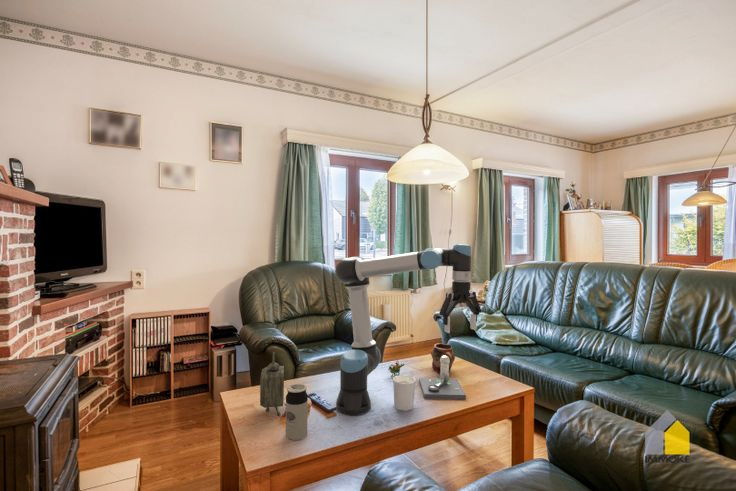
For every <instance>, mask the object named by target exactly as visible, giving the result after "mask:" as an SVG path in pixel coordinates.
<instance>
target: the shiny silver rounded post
mask: <svg viewBox="0 0 736 491" xmlns="http://www.w3.org/2000/svg"><path fill="white" fill-rule="evenodd" d="M440 362H441V373H439V374H440V378H439V379H440V381H441V382H440V383H438V384H436V385H429V386H428V389H429V390H430V391H439V387H440V386H441V385H443V384H445V383H447V382H449V379H450V377H449V376H450V371H449V362H450V359H449V357H448V356H445V355H444V356H442V357H441V358H440Z"/></svg>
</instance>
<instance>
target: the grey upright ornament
mask: <svg viewBox="0 0 736 491" xmlns="http://www.w3.org/2000/svg"><path fill="white" fill-rule="evenodd" d="M259 381H260V382H259V383H260V384H259V397H260V398H259V401H260V404H259V406H260V407H263V408H264V409H265V411H266V412H267V413H268V412H270V408H274V409H275V411H276V416H277V417H280V416H281V412H279V408H281V407H284V399H285V398H284V395H285V393H284V392H285V365H280V364H279V363H278V362H276V358H275V351H273V352H272V361H271V362H270V363H269V364H268V365H267V366H265V367H264V368H261V373H260V380H259Z"/></svg>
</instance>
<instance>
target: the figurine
mask: <svg viewBox="0 0 736 491" xmlns="http://www.w3.org/2000/svg"><path fill="white" fill-rule="evenodd" d="M399 363H400V362H399V360H398V359H397V360H396V361H395V364H393V363H391V365H389V367H388V369H387V370H388V371H389V373H390V374H391V377H395V376H398V375H401V374H400V371H401V368H402V367H404V366H406V364H404V363H400V364H399Z"/></svg>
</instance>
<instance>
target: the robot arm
mask: <svg viewBox="0 0 736 491" xmlns="http://www.w3.org/2000/svg"><path fill="white" fill-rule="evenodd" d="M439 267H452V271H451V272H452V273H451V275H452V276H451V279H452V282H451V289H452V292H451V293H450V292H446V293H445V298H444V301H443V303H442V305H441V307H440V311H439V312H438V315H439V316H442V320H443V321H442V324H443V325H444V326H443V327H444V328H443V329H444V332H445V333H446V334H450V333H451V317H450V315H451V313H452V312H453V310H454V309H455V308H456V306H457V305H458V304H466V306H467V307H468V309H469V310H470V312H471V313H470V326H469V329H471V330H473V331H476V330H477V322H478V316H479V315H480V314H481V313H482V308H481V306H480V304H479V301H478V298H477V292H476V291H471V282H470V281H471V277H472V275H471V274H472V273H471V271H472V246H471V245H470V244H468V243H467V244H461V243H460V244H459V243H454V244H452V248H436V247H430V248H429V247H428V248H425V249H424V250H420V251H413V252H407V253H401V254H393V255H389V256H388V255H387V256H381V257H375V258H374V257H373V258H369V259H366V258H365V257H363V256H351V257H345V258H342V259H341V260H339V261H338V262H337V264H336V266H335V268H334V269H335V270H334V272H335V273H334V274H335V277H336V278H337V280H338V281H339V282H340V283H342V284H344V288H345V289H346V290H347V291H348V297H349V304H350V305H349V306H350V314H351V325H352V334H353V342H352V344H351V345H350V346H351V350H347V351H345V352H343V353H342V355H341V356H340V361H339V366H340V368H339V369H340V370H339V371H340V376H339V377H340V378H339V379H340V381H339V382H340V384H339V385H340V388H339V392H338V396H337V399H336V400H335V401H336V402H335V409H336V410H337V412H338V413H340V414H344V415H346V416H347V415H348V416H360V415H363V414H366V413H368V412H369V411H371V409H372V401H371V398H370V397H371V396H370V395H369V390H368V376H369V375H370V374H371V373H372V372H373V371H375V369H377V368H378V366H379V364H380V362H381V357H382V355H381V351H380V349H379V347H377V341H375V340H374V338H373V332H372V324H371V316H370V315H371V314H370V304H369V297H368V296H369V295H368V287H369V286H370V278H373V277H381V276H386V275H387V276H388V275H393V274H395V275H396V274H400V273H409V272H416V271H423V270H424V271H425V270H435V269H437V268H439Z"/></svg>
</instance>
